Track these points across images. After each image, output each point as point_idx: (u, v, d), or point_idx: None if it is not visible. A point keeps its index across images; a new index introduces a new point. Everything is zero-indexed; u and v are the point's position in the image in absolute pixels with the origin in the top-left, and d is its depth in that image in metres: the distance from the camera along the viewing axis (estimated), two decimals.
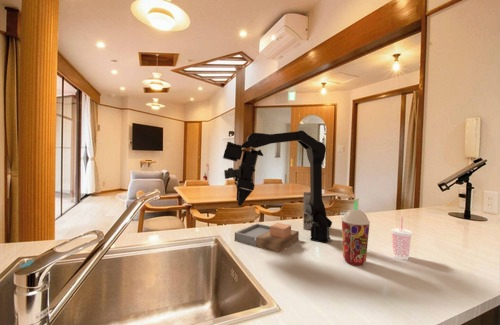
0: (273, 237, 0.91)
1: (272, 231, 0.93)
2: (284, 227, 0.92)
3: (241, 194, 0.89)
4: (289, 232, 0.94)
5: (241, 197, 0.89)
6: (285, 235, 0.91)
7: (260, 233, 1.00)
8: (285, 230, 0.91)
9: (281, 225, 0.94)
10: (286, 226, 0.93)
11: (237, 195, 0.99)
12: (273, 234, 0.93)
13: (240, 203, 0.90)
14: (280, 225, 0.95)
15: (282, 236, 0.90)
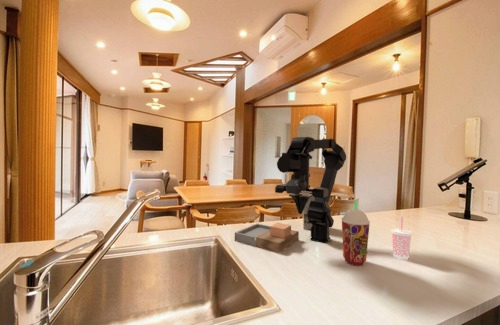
0: (273, 237, 0.91)
1: (272, 231, 0.93)
2: (284, 227, 0.92)
3: (303, 202, 0.88)
4: (289, 232, 0.94)
5: (303, 205, 0.88)
6: (285, 235, 0.91)
7: (260, 233, 1.00)
8: (285, 230, 0.91)
9: (281, 225, 0.94)
10: (286, 226, 0.93)
11: (299, 208, 0.89)
12: (273, 234, 0.93)
13: (302, 211, 0.89)
14: (280, 225, 0.95)
15: (282, 236, 0.90)
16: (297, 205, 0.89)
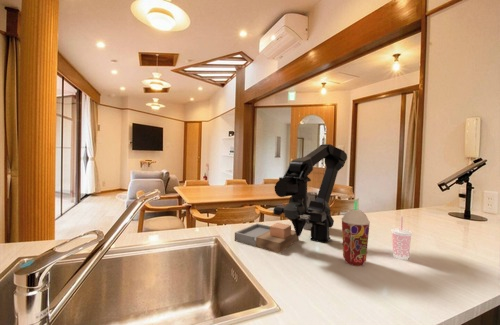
0: (273, 237, 0.91)
1: (272, 231, 0.93)
2: (284, 227, 0.92)
3: (301, 225, 0.89)
4: (289, 232, 0.94)
5: (301, 227, 0.89)
6: (285, 235, 0.91)
7: (260, 233, 1.00)
8: (285, 230, 0.91)
9: (281, 225, 0.94)
10: (286, 226, 0.93)
11: (297, 230, 0.89)
12: (273, 234, 0.93)
13: (300, 233, 0.90)
14: (280, 225, 0.95)
15: (282, 236, 0.90)
16: (295, 228, 0.89)
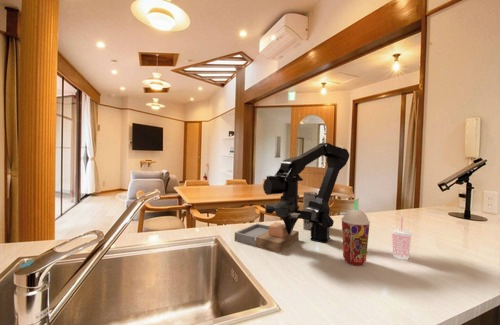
0: (273, 237, 0.91)
1: (270, 231, 0.93)
2: (282, 227, 0.92)
3: (292, 223, 0.91)
4: (287, 232, 0.94)
5: (292, 225, 0.91)
6: (283, 235, 0.91)
7: (260, 233, 1.00)
8: (283, 230, 0.91)
9: (279, 225, 0.94)
10: (284, 226, 0.94)
11: None
12: (271, 234, 0.93)
13: (291, 231, 0.92)
14: (279, 224, 0.95)
15: (280, 236, 0.91)
16: (286, 226, 0.91)
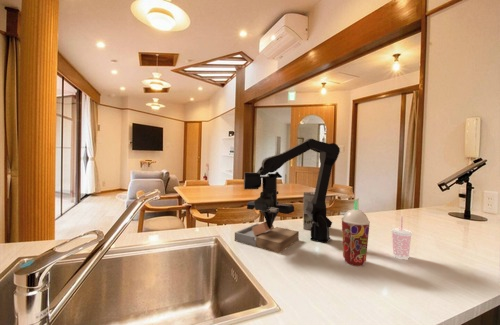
0: (273, 237, 0.91)
1: (255, 231, 0.97)
2: (263, 222, 0.97)
3: (272, 217, 0.95)
4: None
5: (272, 220, 0.96)
6: (267, 228, 0.95)
7: None
8: (265, 224, 0.95)
9: None
10: None
11: None
12: (257, 233, 0.96)
13: (271, 225, 0.96)
14: None
15: (264, 230, 0.94)
16: (267, 220, 0.96)
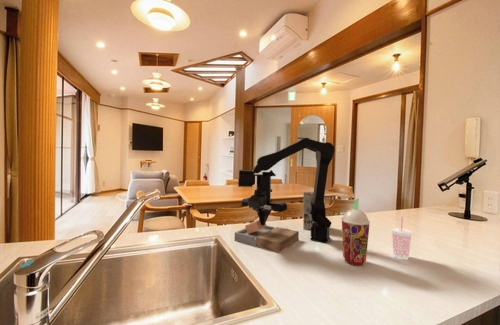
0: (273, 237, 0.91)
1: (248, 229, 0.99)
2: (257, 221, 0.99)
3: (265, 215, 0.97)
4: None
5: (265, 217, 0.98)
6: (260, 227, 0.97)
7: (260, 233, 1.00)
8: (258, 222, 0.97)
9: (254, 222, 1.00)
10: (259, 220, 1.00)
11: None
12: (250, 231, 0.98)
13: (264, 223, 0.98)
14: None
15: (257, 229, 0.96)
16: (260, 217, 0.98)
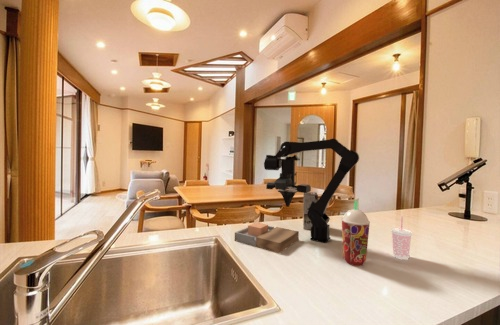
0: (273, 237, 0.91)
1: (250, 230, 0.98)
2: (261, 226, 0.98)
3: (290, 196, 1.04)
4: (266, 231, 0.99)
5: (290, 199, 1.04)
6: None
7: None
8: (262, 229, 0.97)
9: (258, 225, 0.99)
10: (263, 225, 0.99)
11: None
12: (251, 233, 0.98)
13: (289, 204, 1.05)
14: (258, 224, 1.00)
15: (259, 235, 0.96)
16: (285, 199, 1.05)
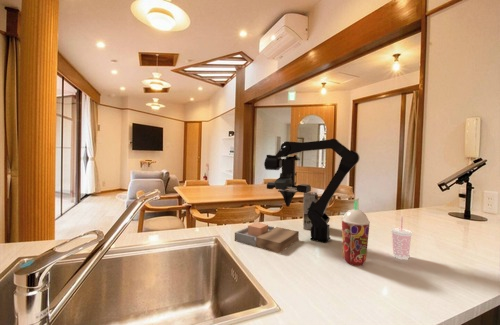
0: (273, 237, 0.91)
1: (250, 230, 0.98)
2: (261, 226, 0.98)
3: (290, 196, 1.04)
4: (266, 231, 0.99)
5: (290, 199, 1.04)
6: None
7: None
8: (262, 229, 0.97)
9: (258, 225, 0.99)
10: (263, 225, 0.99)
11: None
12: (251, 233, 0.98)
13: (289, 204, 1.05)
14: (258, 224, 1.00)
15: (259, 235, 0.96)
16: (285, 199, 1.05)
